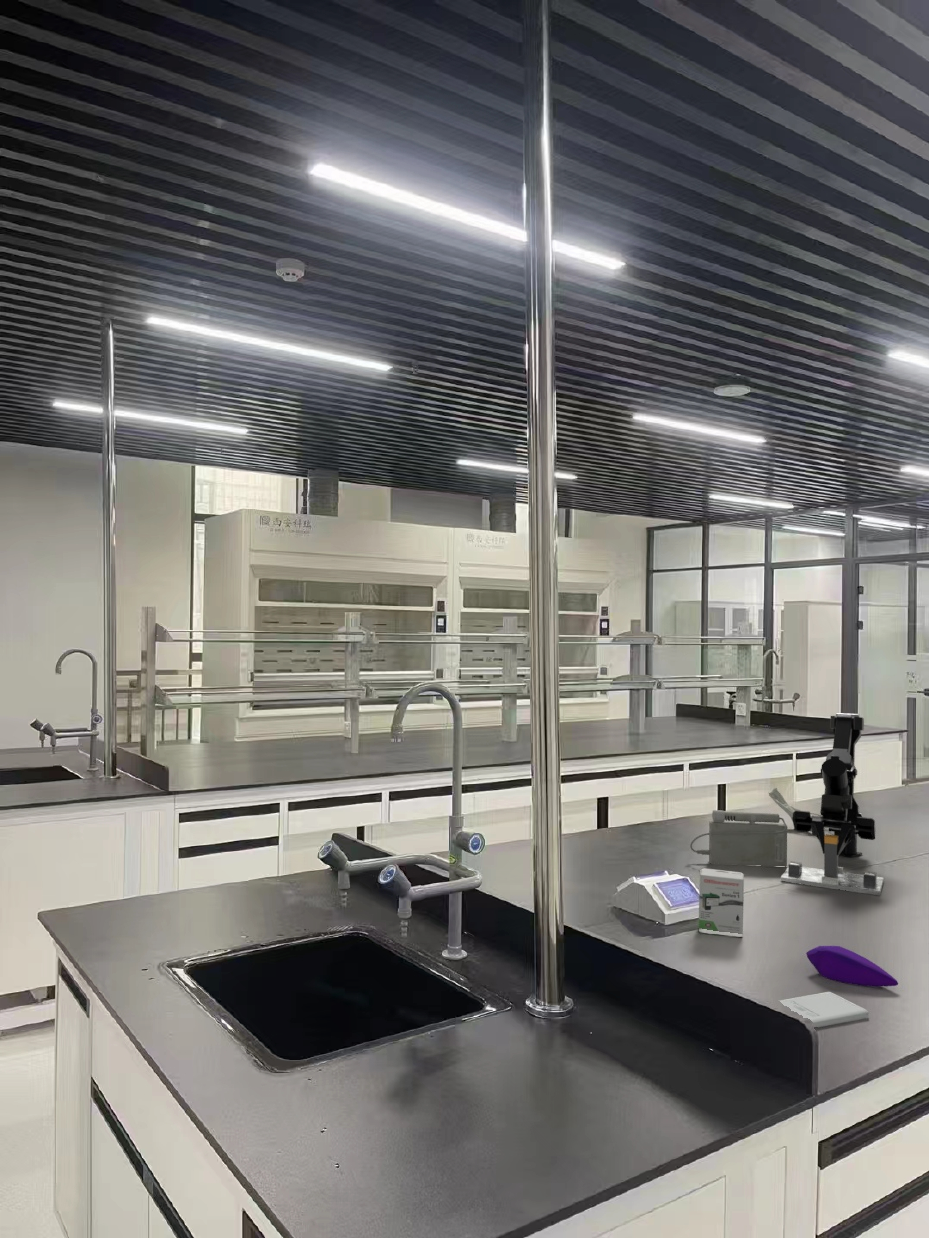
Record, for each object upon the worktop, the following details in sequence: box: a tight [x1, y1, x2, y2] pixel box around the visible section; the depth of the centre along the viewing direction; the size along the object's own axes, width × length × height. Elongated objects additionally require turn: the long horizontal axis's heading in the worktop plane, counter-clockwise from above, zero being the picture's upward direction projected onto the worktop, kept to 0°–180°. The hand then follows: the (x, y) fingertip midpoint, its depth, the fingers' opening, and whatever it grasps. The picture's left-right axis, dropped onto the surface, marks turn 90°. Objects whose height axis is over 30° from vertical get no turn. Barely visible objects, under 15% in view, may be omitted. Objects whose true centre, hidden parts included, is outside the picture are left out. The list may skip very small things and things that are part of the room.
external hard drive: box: [779, 991, 869, 1028], centre depth 134 cm, size 2×8×12 cm
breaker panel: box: [780, 861, 885, 897], centre depth 211 cm, size 14×22×4 cm, turn 61°
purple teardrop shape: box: [805, 945, 899, 988], centre depth 148 cm, size 5×5×15 cm
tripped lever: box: [823, 834, 839, 877], centre depth 209 cm, size 3×3×10 cm
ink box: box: [698, 867, 745, 935], centre depth 172 cm, size 9×5×12 cm, turn 73°
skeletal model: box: [767, 787, 834, 835], centre depth 271 cm, size 16×9×25 cm
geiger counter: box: [689, 809, 788, 867], centre depth 226 cm, size 14×6×25 cm
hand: (830, 853), depth 208 cm, fingers closed on tripped lever, 3 cm apart
